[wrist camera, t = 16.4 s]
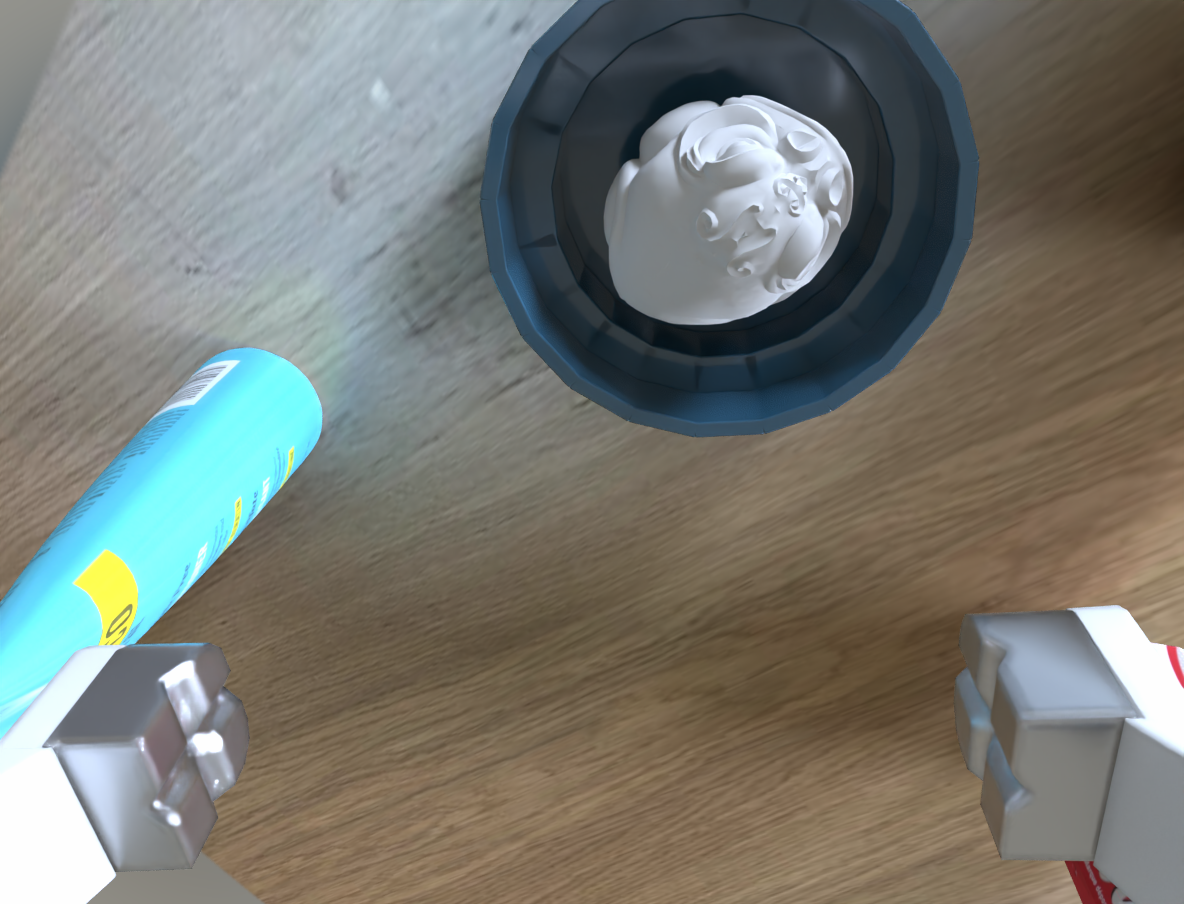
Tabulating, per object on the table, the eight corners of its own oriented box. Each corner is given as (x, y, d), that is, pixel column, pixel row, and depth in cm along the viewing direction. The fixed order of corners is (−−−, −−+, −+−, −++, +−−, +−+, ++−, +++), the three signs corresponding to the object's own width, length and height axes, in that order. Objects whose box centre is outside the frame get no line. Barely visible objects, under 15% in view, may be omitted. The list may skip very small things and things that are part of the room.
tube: (280, 508, 37) (-61, 982, 20) (165, 445, 36) (-296, 886, 19) (362, 362, 33) (39, 781, 17) (238, 289, 33) (-238, 652, 16)
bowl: (483, -31, 27) (445, -27, 23) (948, -81, 26) (1003, -88, 21) (537, 380, 33) (515, 446, 29) (917, 360, 32) (955, 426, 27)
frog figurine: (868, 193, 29) (919, 259, 23) (684, 325, 31) (684, 417, 25) (753, 24, 27) (775, 46, 21) (566, 179, 29) (536, 240, 23)
